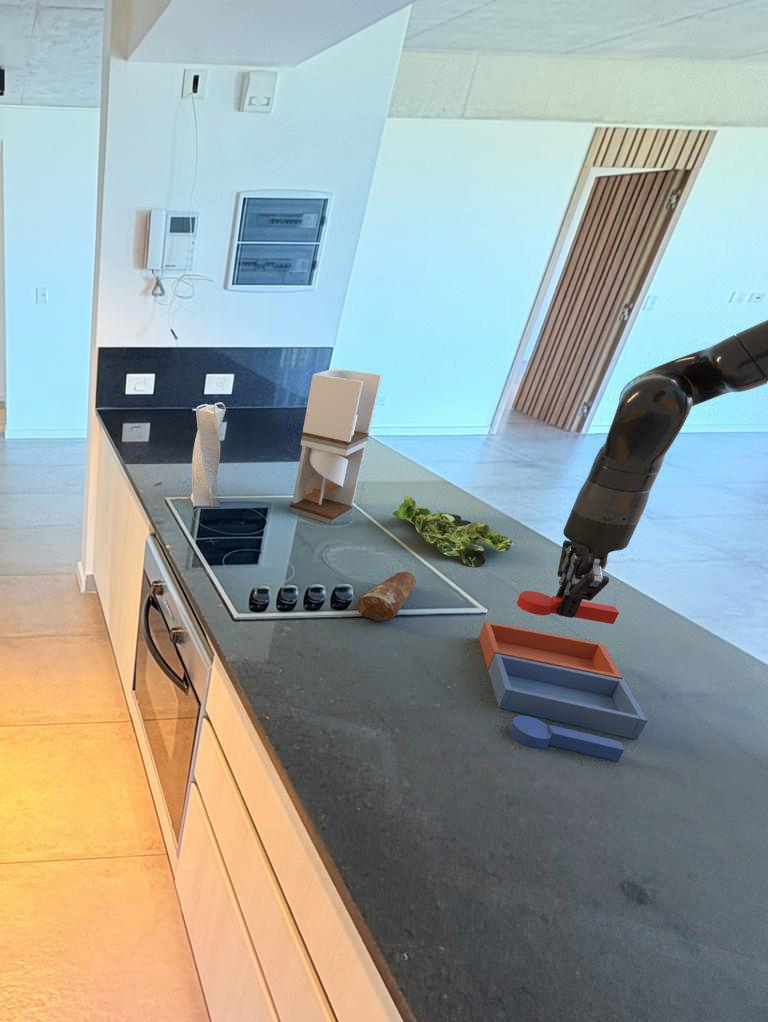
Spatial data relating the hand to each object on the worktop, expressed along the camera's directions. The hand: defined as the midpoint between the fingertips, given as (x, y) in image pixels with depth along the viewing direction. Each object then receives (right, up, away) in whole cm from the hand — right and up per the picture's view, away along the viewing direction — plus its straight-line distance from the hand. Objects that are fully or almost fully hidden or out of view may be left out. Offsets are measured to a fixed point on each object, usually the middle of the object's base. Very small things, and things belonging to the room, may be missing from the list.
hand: (562, 611), depth 97 cm
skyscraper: (-40, +21, +68) cm, 82 cm away
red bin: (0, -10, +5) cm, 11 cm away
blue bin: (-4, -14, -3) cm, 15 cm away
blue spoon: (-9, -18, -11) cm, 23 cm away
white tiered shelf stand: (-11, +19, +62) cm, 65 cm away
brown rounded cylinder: (-16, -1, +22) cm, 28 cm away
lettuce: (+12, +11, +46) cm, 49 cm away
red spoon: (+1, 0, 0) cm, 1 cm away
